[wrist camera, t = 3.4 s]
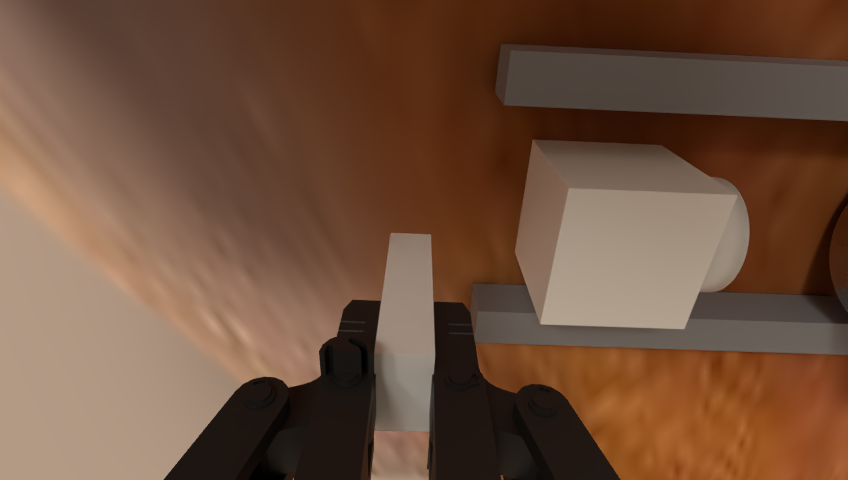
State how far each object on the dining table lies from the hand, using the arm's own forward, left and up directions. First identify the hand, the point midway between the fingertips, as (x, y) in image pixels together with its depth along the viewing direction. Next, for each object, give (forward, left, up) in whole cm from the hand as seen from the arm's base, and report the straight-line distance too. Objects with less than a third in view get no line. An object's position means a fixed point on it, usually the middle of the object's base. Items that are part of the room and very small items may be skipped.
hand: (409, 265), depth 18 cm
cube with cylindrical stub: (0, +8, -6) cm, 10 cm away
